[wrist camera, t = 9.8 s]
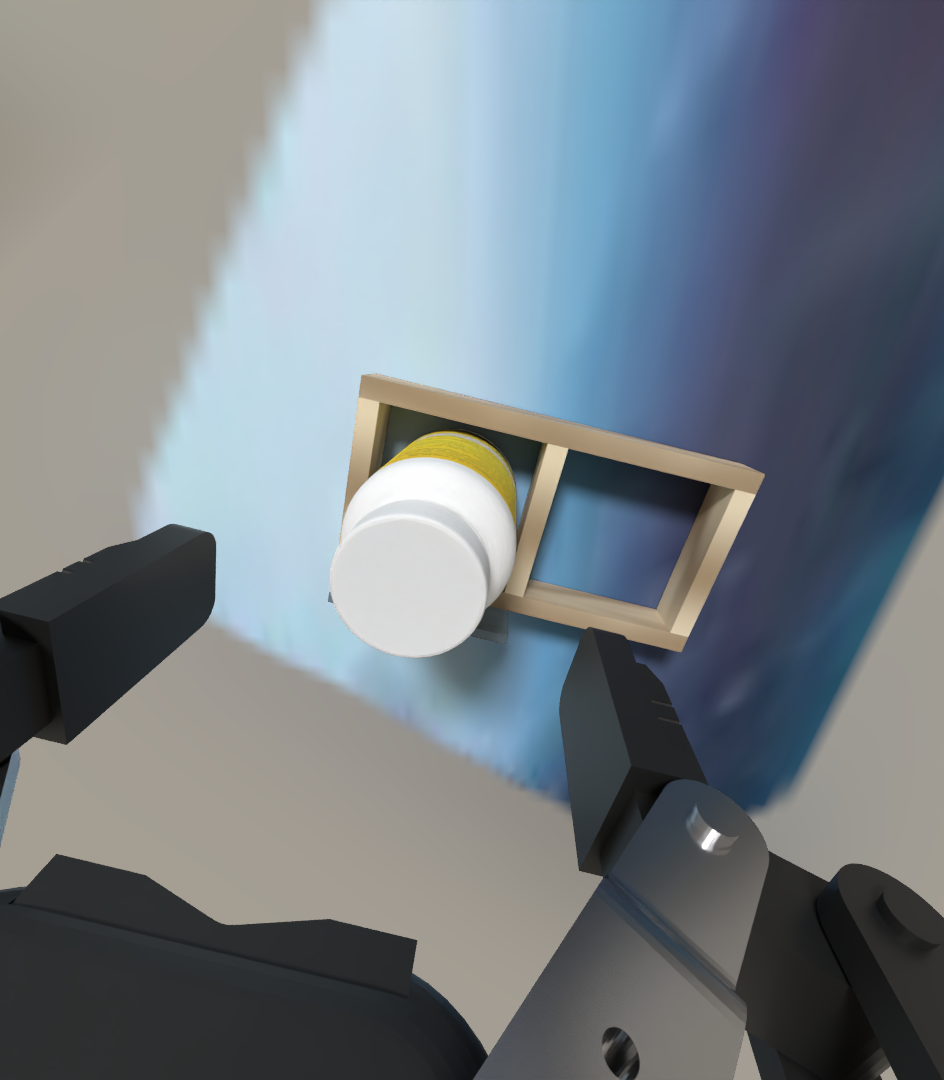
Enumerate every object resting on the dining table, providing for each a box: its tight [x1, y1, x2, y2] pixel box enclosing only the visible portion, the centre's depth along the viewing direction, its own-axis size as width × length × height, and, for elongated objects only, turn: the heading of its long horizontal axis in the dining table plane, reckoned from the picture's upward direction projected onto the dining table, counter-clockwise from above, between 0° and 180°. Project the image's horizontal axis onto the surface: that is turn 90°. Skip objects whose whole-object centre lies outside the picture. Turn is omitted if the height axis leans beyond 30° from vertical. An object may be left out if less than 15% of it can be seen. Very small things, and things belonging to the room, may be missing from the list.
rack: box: [328, 374, 765, 652], centre depth 19 cm, size 8×15×4 cm, turn 77°
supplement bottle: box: [329, 429, 516, 658], centre depth 16 cm, size 5×5×10 cm
